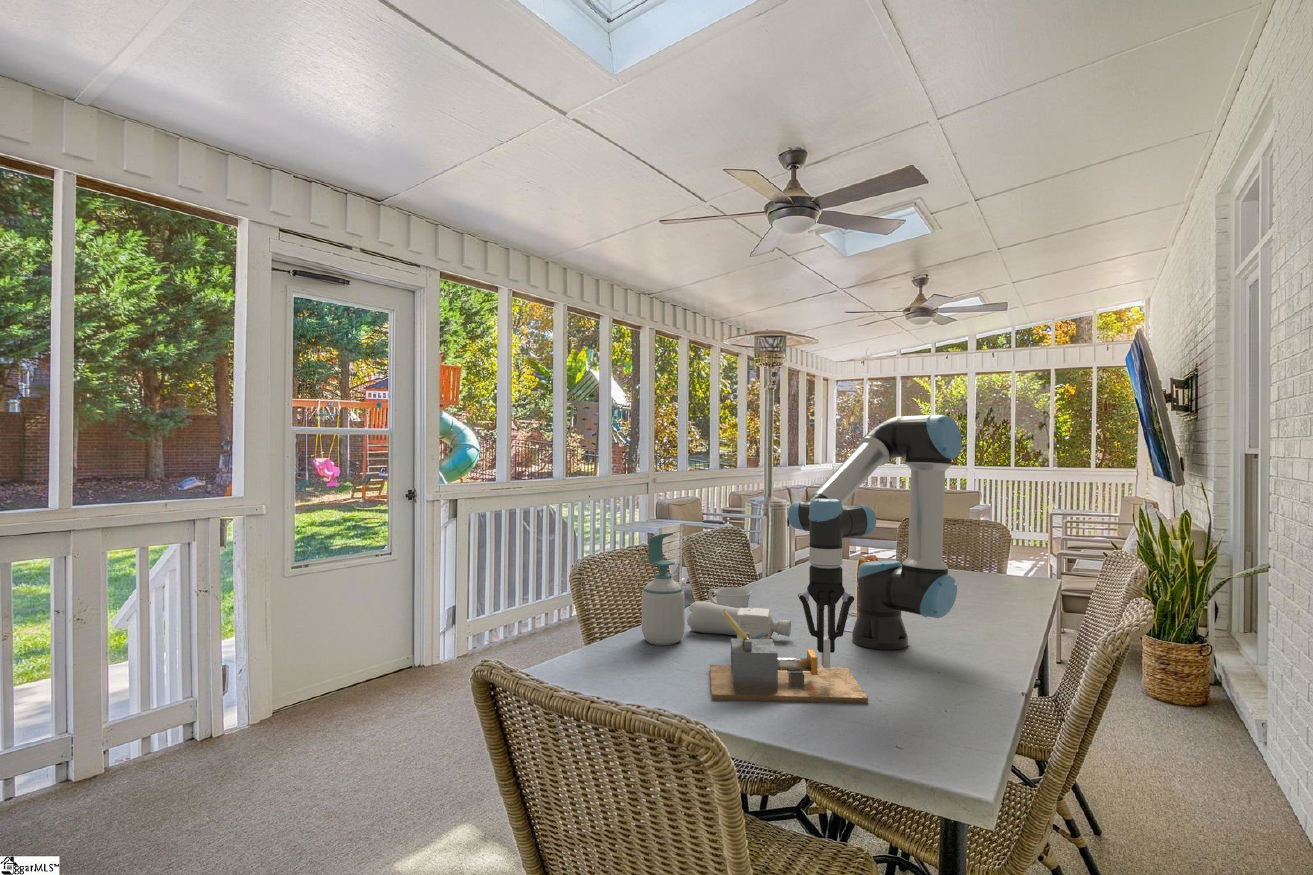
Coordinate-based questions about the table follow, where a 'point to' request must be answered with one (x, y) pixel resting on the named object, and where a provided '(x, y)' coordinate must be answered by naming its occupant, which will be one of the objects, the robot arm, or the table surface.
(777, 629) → the bottle
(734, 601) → the teacup
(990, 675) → the table surface
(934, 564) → the robot arm
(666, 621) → the soap bottle
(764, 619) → the ink box
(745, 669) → the block
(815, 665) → the lynch pin
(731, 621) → the tab
